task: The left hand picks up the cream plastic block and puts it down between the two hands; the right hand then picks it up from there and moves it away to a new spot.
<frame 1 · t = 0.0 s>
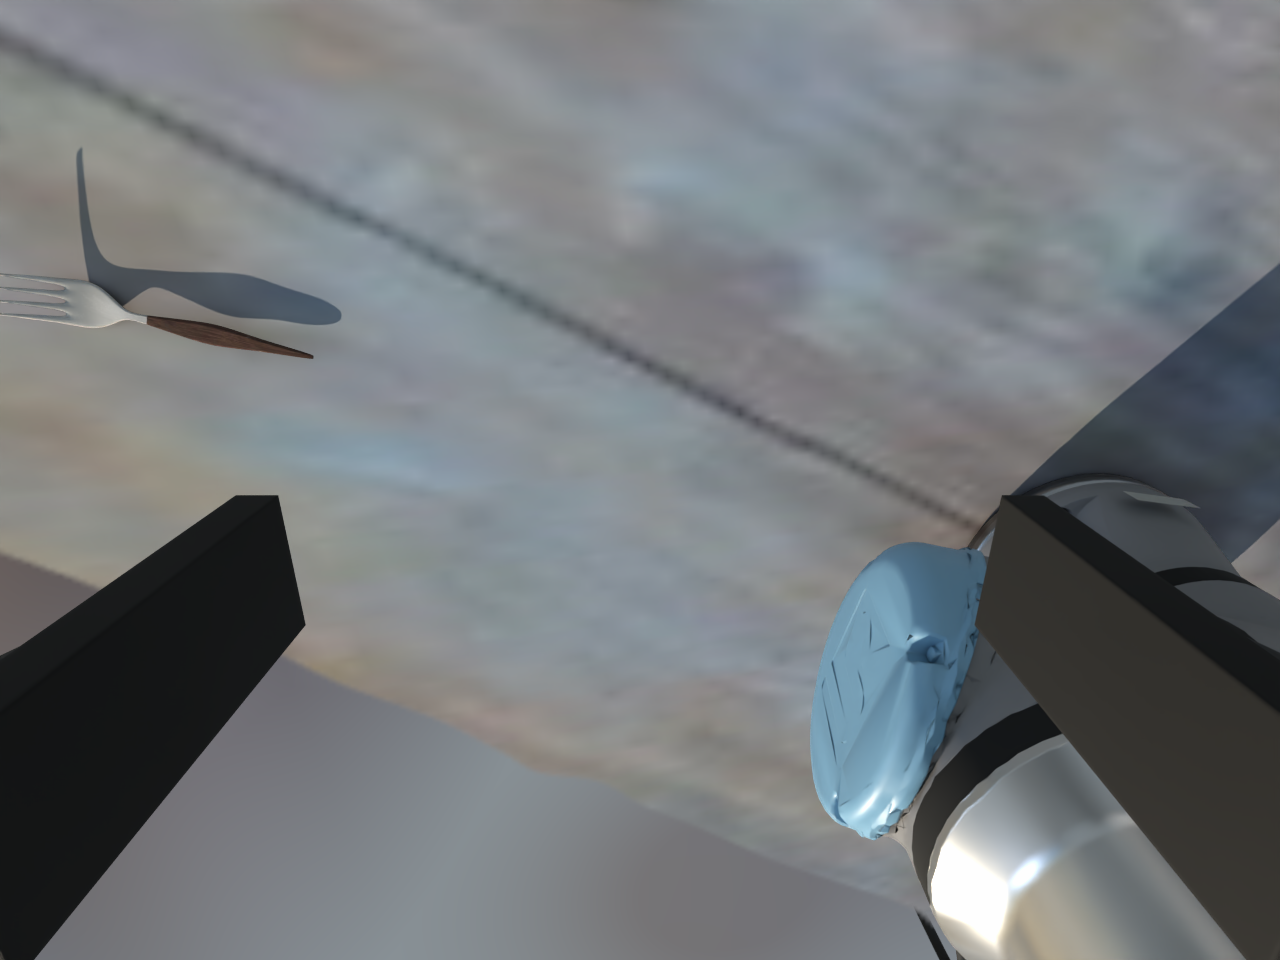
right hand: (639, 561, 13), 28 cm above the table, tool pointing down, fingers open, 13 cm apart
fork: (176, 322, 39), on the table
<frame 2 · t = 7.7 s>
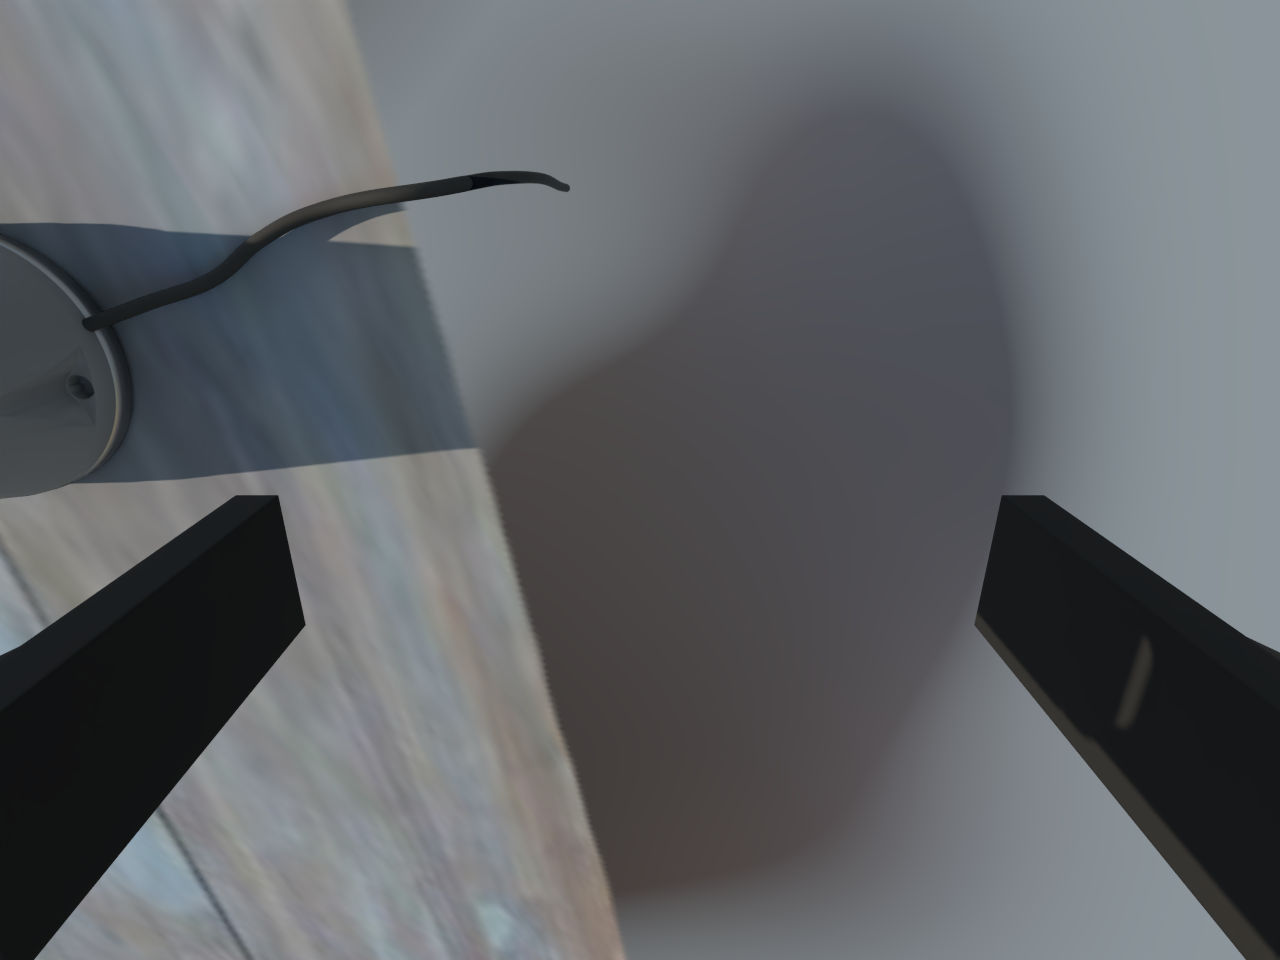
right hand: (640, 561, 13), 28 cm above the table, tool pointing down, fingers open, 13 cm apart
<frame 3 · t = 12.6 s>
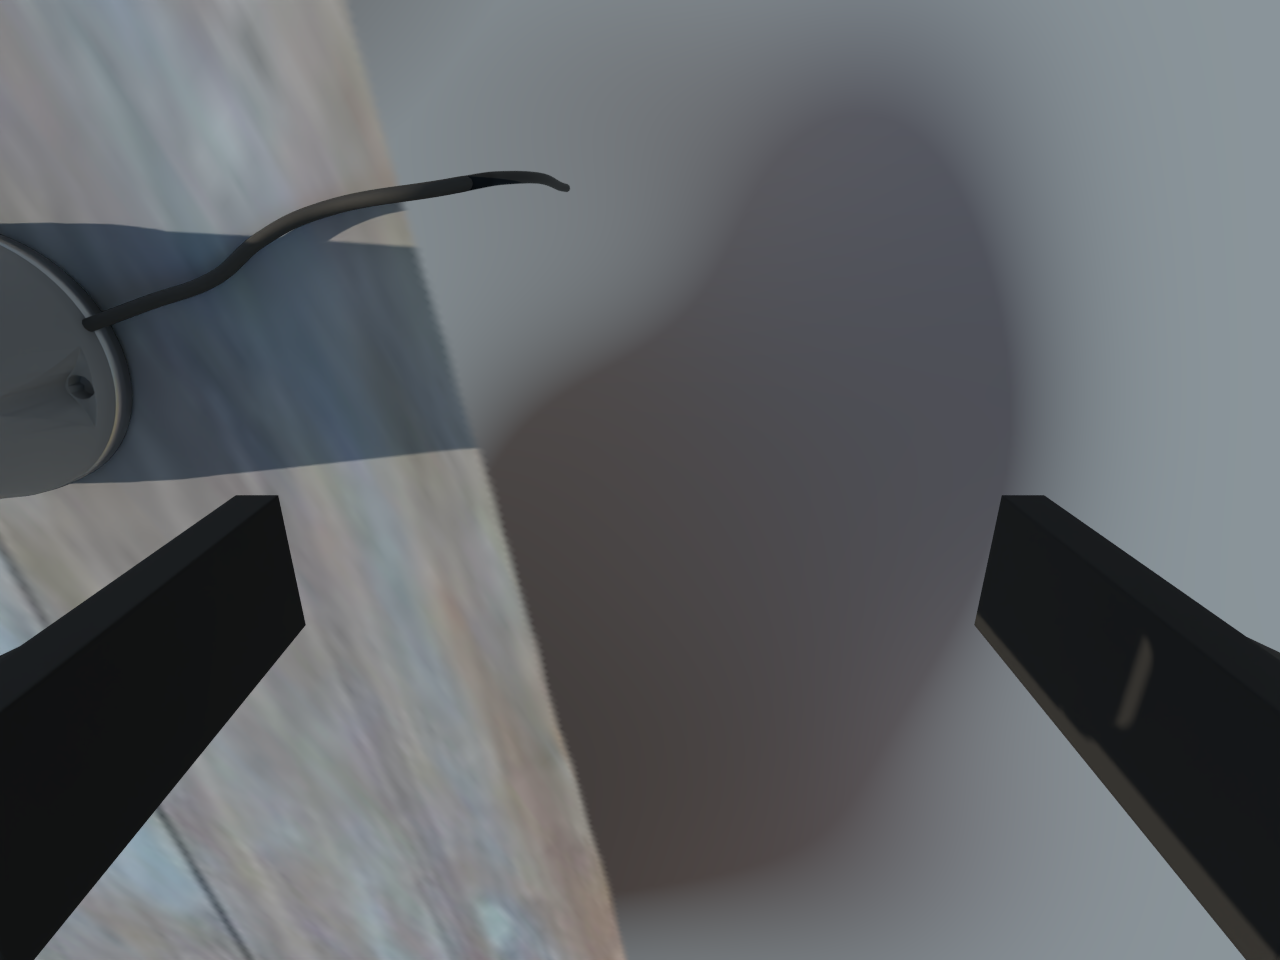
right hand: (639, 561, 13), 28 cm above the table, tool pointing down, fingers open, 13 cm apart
when the left hand's fingers open (2 cm above the table, at t = 17.7 s): block drops 1 cm, on the table.
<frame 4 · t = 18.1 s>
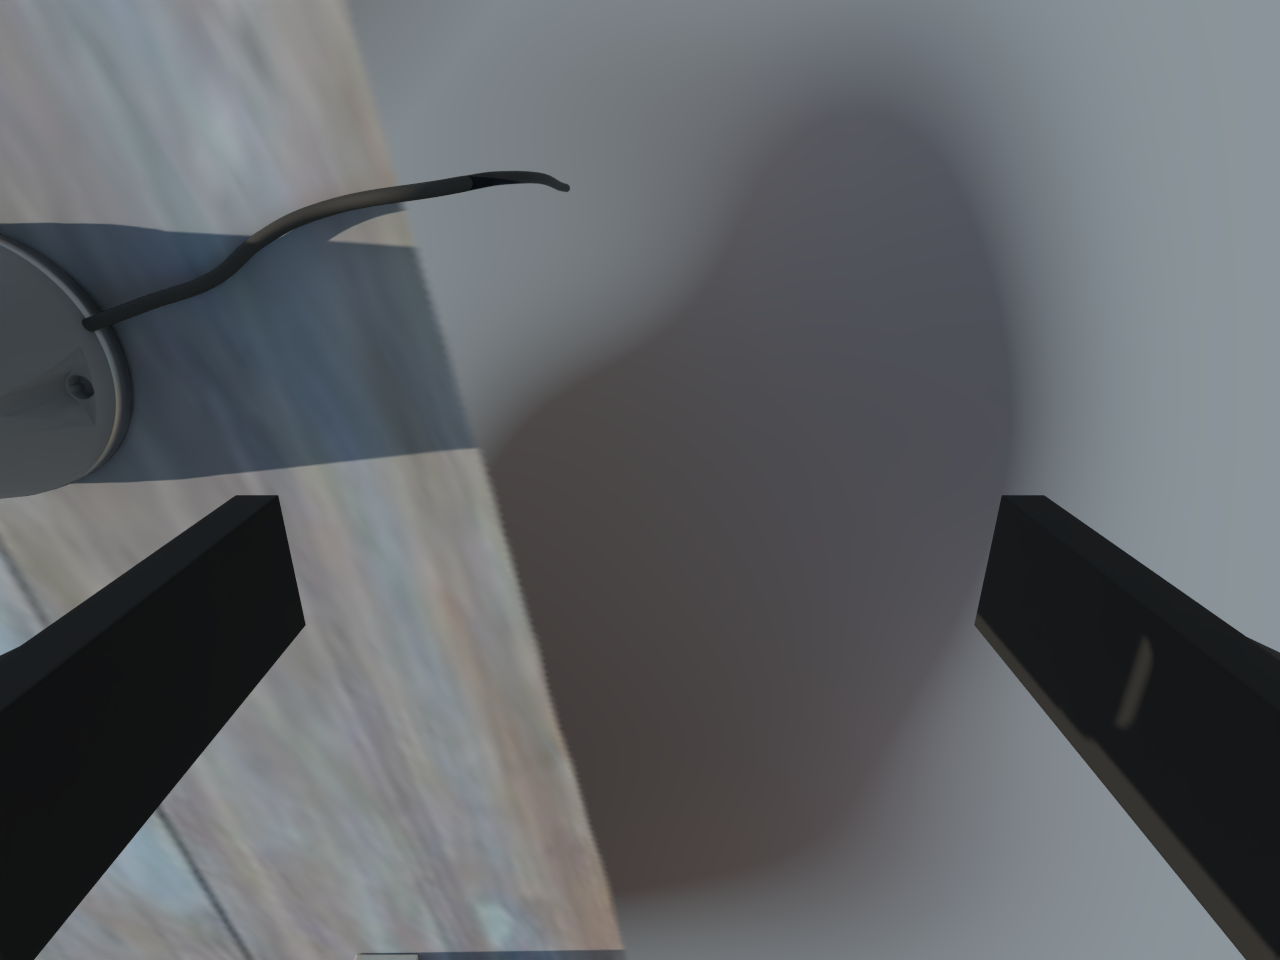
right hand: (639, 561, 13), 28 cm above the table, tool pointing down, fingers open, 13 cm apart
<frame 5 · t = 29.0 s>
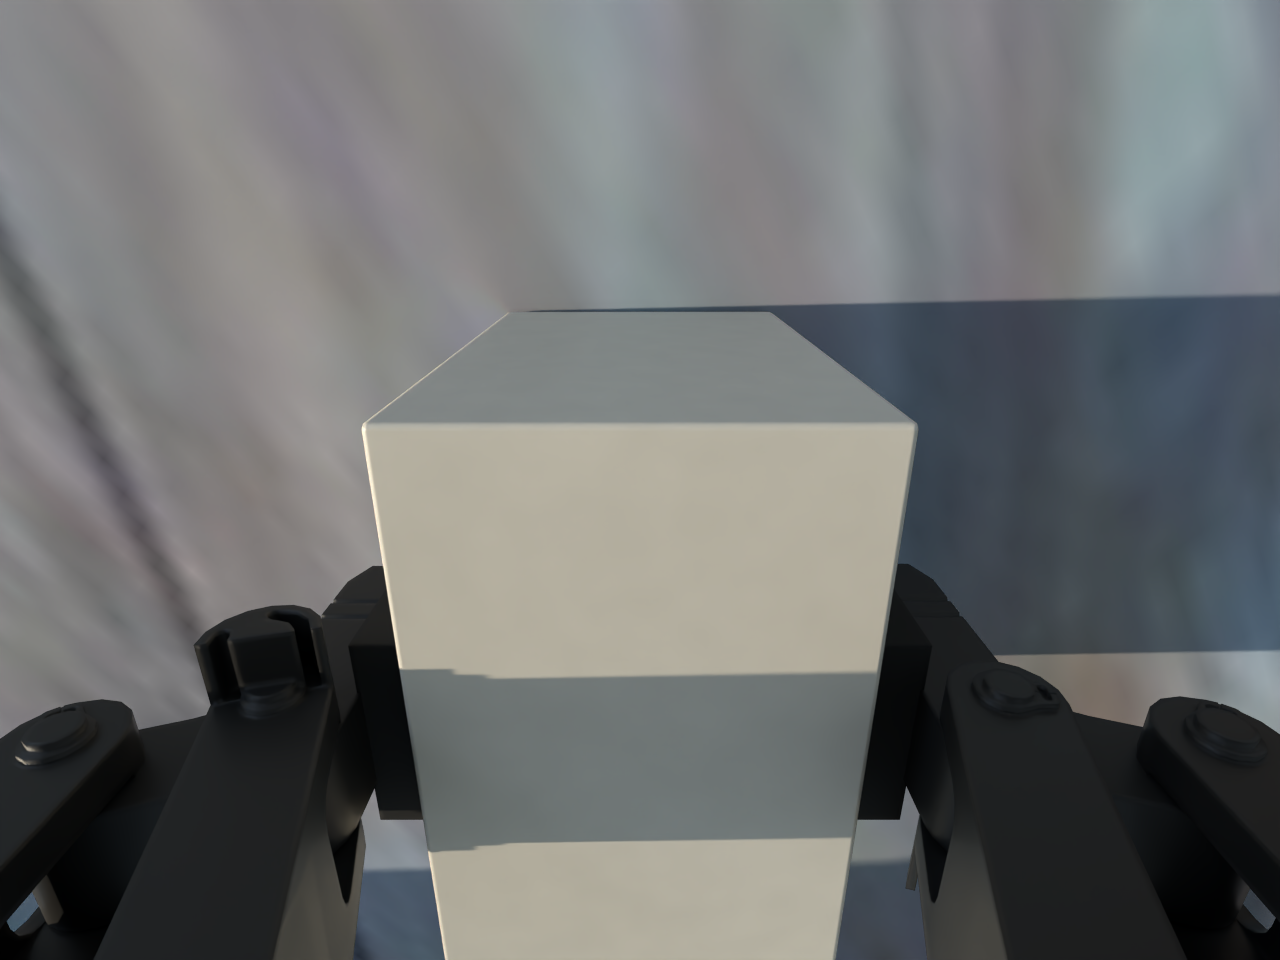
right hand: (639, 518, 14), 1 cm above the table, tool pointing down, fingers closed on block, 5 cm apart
block: (640, 503, 15), on the table, touching right hand
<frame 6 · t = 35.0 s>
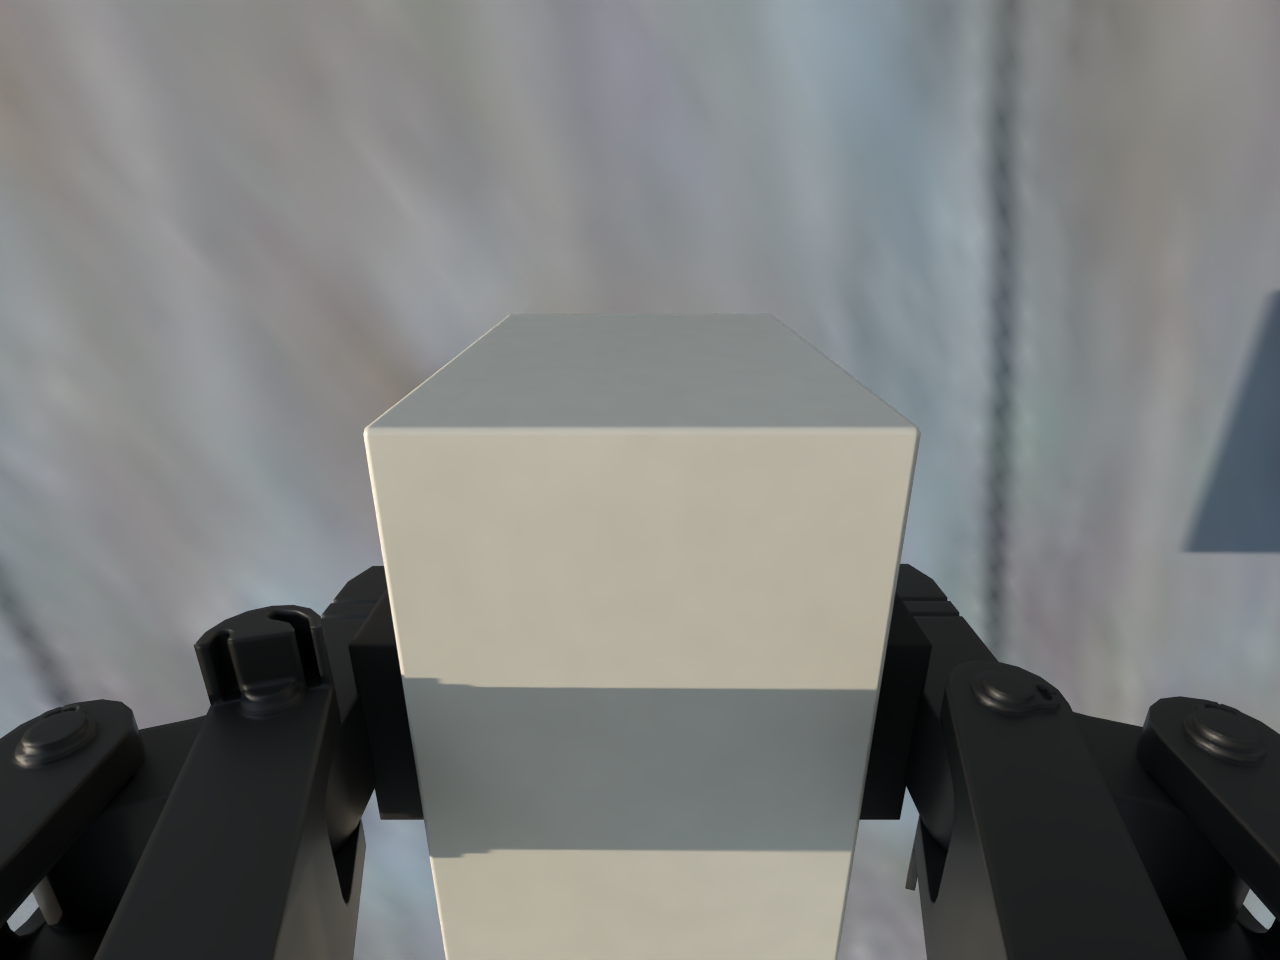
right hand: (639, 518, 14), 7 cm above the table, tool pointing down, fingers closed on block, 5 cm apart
block: (640, 505, 15), point 6 cm above the table, touching right hand
when the right hand's fingers open (2 cm above the table, at t = 41.2 s): block drops 1 cm, on the table.
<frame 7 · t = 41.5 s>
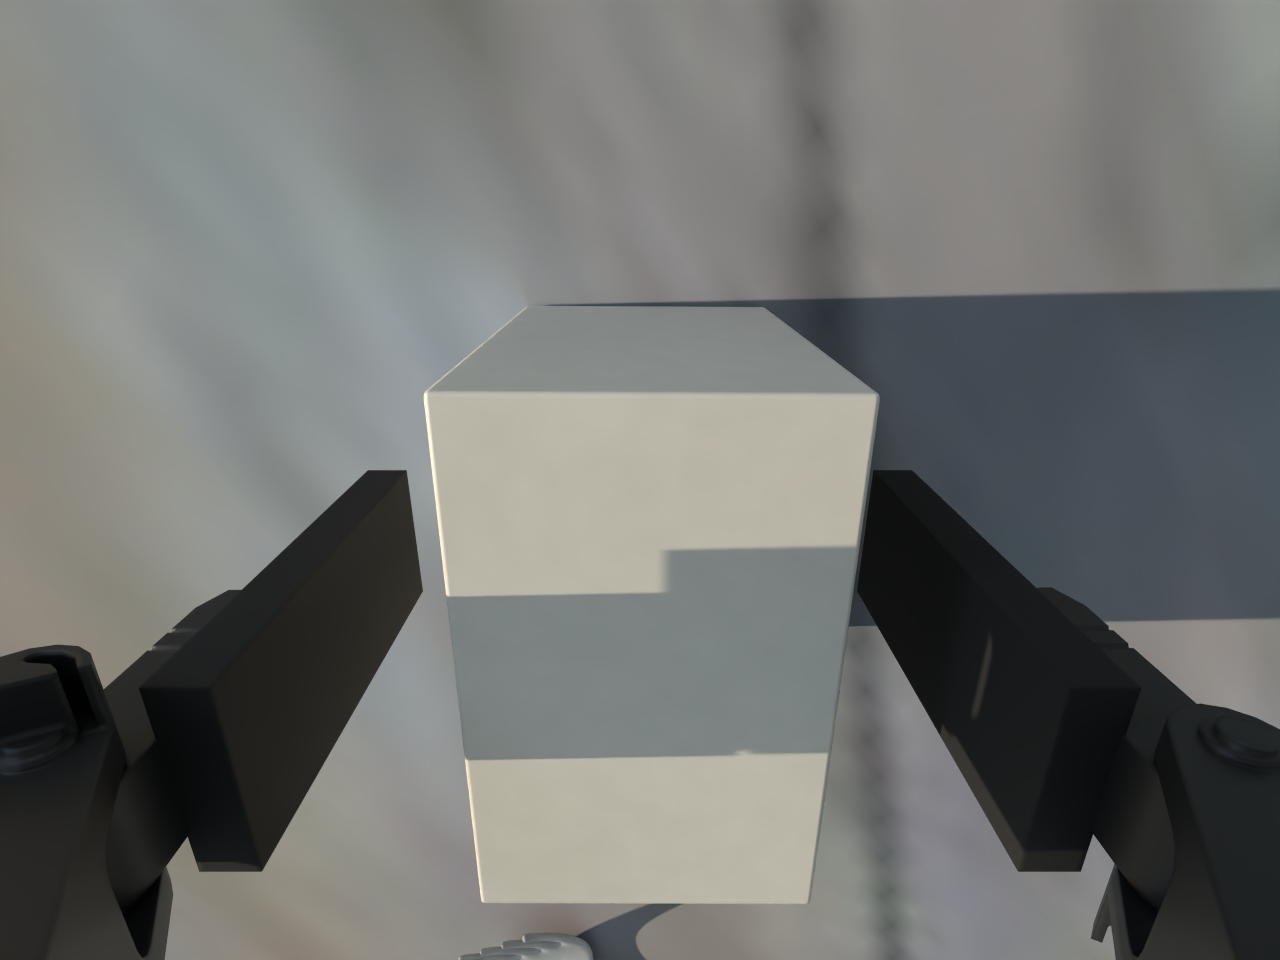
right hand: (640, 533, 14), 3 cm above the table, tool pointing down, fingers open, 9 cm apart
block: (644, 482, 17), on the table
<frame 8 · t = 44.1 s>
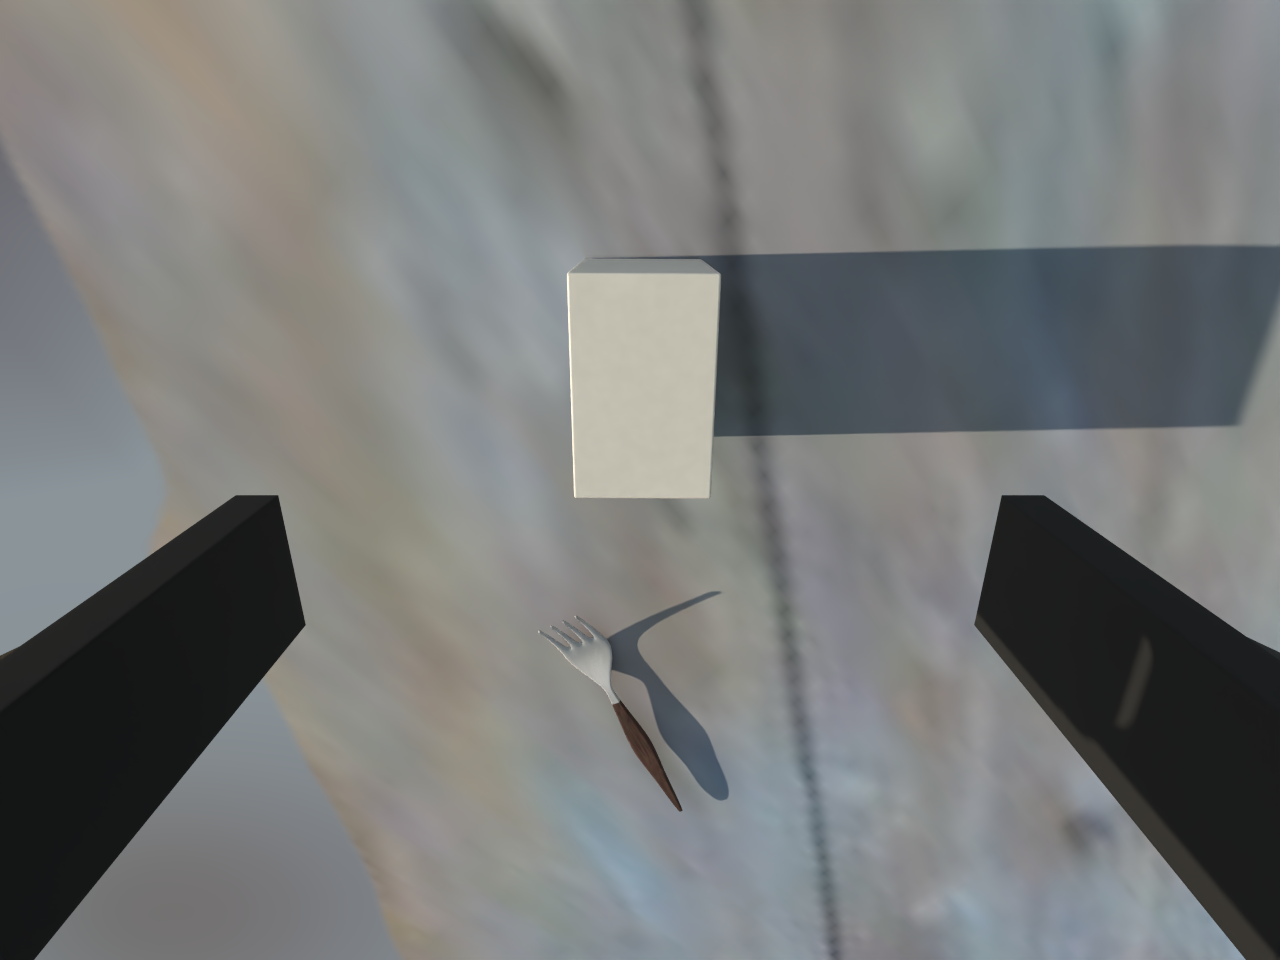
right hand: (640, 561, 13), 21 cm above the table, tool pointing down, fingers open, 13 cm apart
fork: (624, 708, 40), on the table
block: (642, 352, 32), on the table
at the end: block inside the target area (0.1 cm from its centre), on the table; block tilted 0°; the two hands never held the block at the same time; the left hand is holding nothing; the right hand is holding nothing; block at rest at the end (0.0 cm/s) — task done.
